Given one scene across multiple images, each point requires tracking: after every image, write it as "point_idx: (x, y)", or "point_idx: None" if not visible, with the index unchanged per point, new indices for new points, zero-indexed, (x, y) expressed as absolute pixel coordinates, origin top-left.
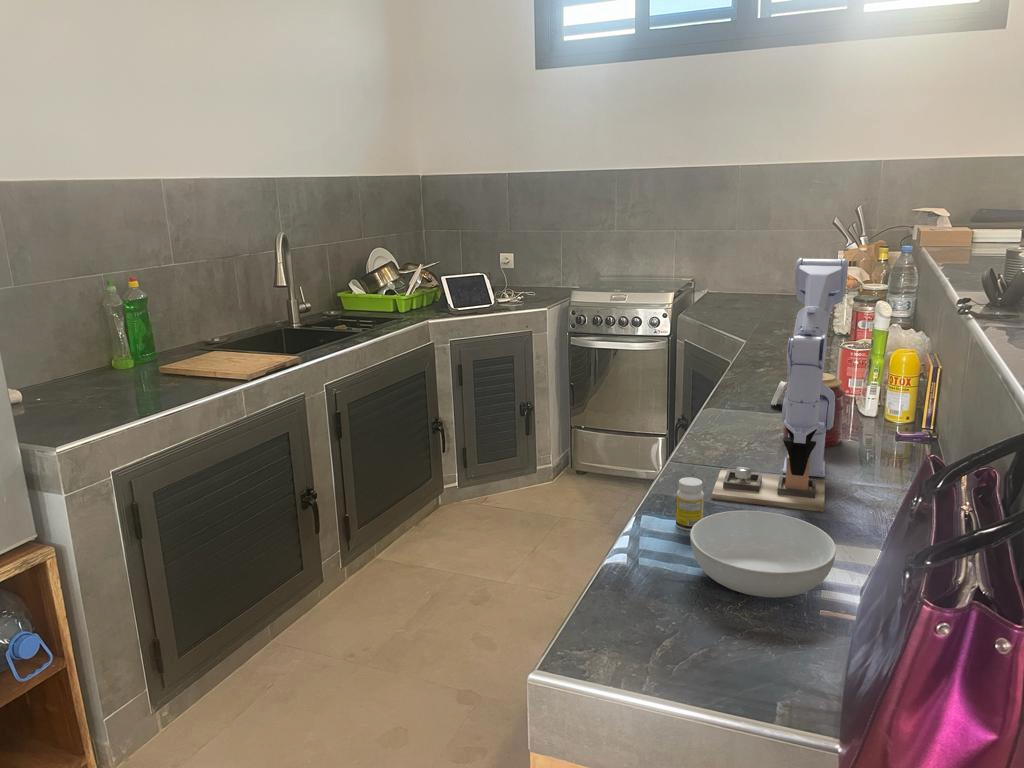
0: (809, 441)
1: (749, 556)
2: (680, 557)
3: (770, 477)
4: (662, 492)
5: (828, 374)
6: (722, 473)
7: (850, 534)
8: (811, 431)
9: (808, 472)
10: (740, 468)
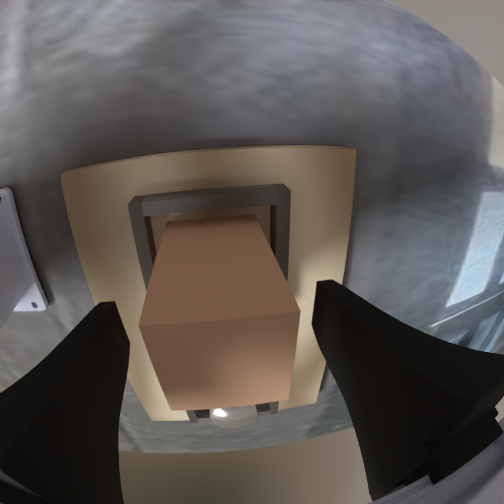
0: (463, 425)
1: None
2: (488, 335)
3: (132, 340)
4: (298, 436)
5: None
6: (175, 417)
7: (457, 97)
8: (485, 497)
9: (276, 263)
10: (227, 423)
